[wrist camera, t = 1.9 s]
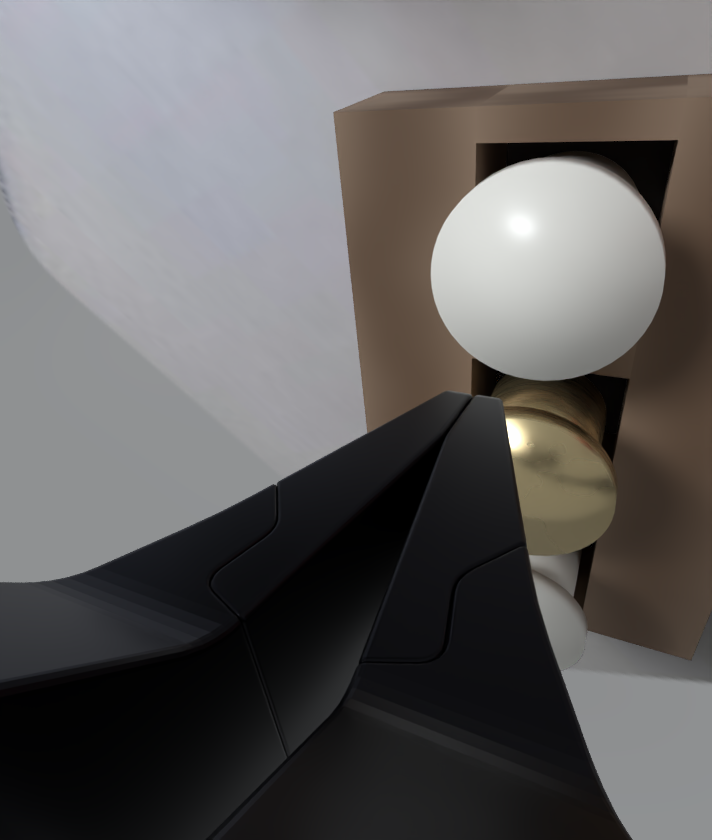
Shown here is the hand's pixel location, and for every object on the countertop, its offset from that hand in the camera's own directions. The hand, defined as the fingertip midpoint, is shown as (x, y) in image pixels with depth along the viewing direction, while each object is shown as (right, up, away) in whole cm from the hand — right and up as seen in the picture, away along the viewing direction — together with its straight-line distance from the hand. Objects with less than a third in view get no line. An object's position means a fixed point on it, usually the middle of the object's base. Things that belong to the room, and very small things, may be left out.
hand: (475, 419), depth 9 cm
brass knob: (+4, 0, +10) cm, 11 cm away
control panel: (+5, +2, +12) cm, 13 cm away
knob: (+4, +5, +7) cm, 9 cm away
